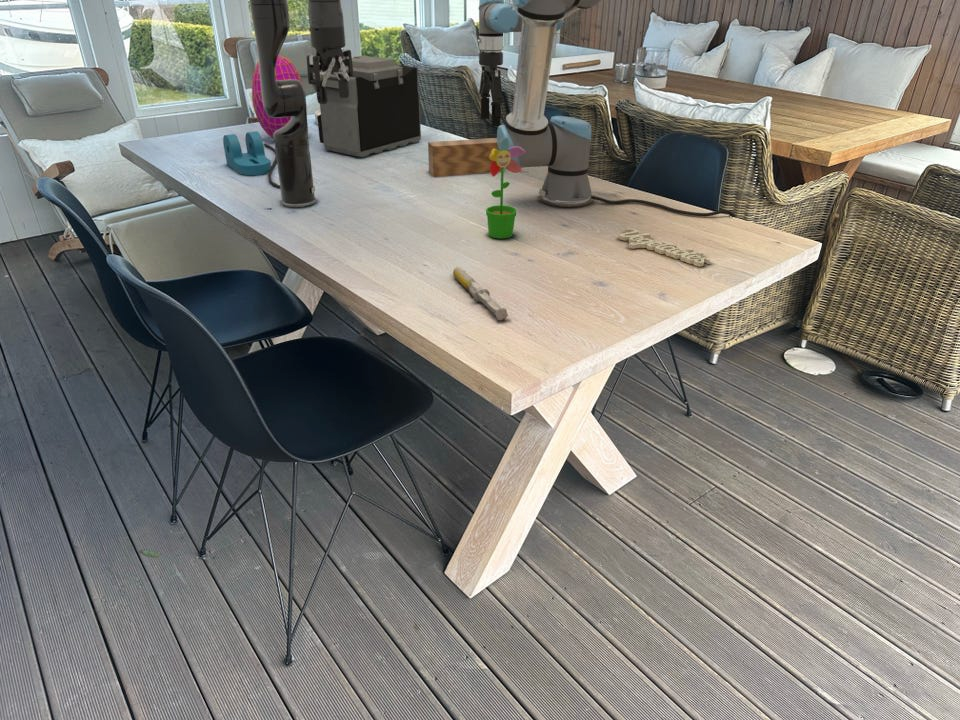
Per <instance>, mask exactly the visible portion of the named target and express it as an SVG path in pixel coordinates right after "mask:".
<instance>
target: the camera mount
mask: <svg viewBox="0 0 960 720" xmlns="http://www.w3.org/2000/svg"><path fill="white" fill-rule="evenodd" d="M222 140H223V141H222V143H223V149H224V150H223V151H224V156H225V161H226V165H227V166H228V167H230V168H231V169H232V170H234V171H236V172H237V173H238V174H239V175H244V176H260V175H265V174H268V173H269V170H270V169H271V166H272V164H271V159H270V158H268V157H267V156H266V153H265V145H264V141H263V139H262V136H261V134H260V132H258V131H247V132H246V133H245V146H246V152H243V151H242V150H243V149H242V146H241V142H240V140H239V138H238V135H236V134H235V133H231V134H224V135H223V138H222Z"/></svg>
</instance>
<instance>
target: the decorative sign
mask: <svg viewBox="0 0 960 720" xmlns="http://www.w3.org/2000/svg"><path fill="white" fill-rule="evenodd" d="M618 239H619V240H620V241H624V242H625V241H628V243H629V244H628V249H632V250H633V249H646V250H649V251H654V253H657V254H660V255H664V256H667V257H671V258H673V259H675V260H680V261H681V262H683V263H684V262H685V263H687V264H690V265H693V266H695V267H703V266H704V265H705V264H706V265H710V264H711V263H710V262H711V259H710V258H709V257H704V254H705V253H704V252H703V251H694V248H691V247H690V248H689V247H688V248H679V247H678V245H676V244H674V243H673V242H667V241H662V242H661V241H656V240H653V239H651V233H647V232H646V233H639V230H638V229H635V228H627V227H626V228H625V231H624V232H623V233H620V234H619V237H618Z"/></svg>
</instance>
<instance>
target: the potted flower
mask: <svg viewBox="0 0 960 720" xmlns="http://www.w3.org/2000/svg"><path fill="white" fill-rule="evenodd" d="M508 148H509V140H508V138H507V137H505V138H504V139H502V140H501V141H500V142H499V144H498V150H497V149H493V150H492V151H491V154H490V157H489V159H490V160H492V161H494V162H492V164H491V165H490V175H491V176H492V177H493V178H494V177H496V176H497V175H498V173H500V189H495V190H493V191H492V192H491V193H490V194H491V195H492V197H494V198H500V199H499V200H500V201H499V204H498V205H491V206H488V207H487V208H486V209H485V215H486V218H487V219H486V220H487V229H488V236H489V237H491V238H494V239H509V238H511V237H512V236H513V234H514V227H515V221H516V217H517V213H518V210H517V208H516V207H513V206H510V205H504V189H507V188H508V187H509V186H510V184H511V182H509V181H506V182H504V179H505V178H504V176H505V174H504V173H505V172H504V171H505V169H506V170H507V171H508V172H510V173H514V174H517V173H522V172H523V168H521V167H520V166H519V164H518V163H517V162H516V161H514V160H513V159H511V158H516V157H518V156H520V155H522V154H523V153H525V152H526V151H525V150H524V149H522V148H521V147H518V146H514V147H511V148H509V149H508ZM500 168H501V172H499V170H500Z"/></svg>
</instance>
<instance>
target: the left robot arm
mask: <svg viewBox="0 0 960 720" xmlns="http://www.w3.org/2000/svg"><path fill="white" fill-rule="evenodd" d="M248 1H249V9H250V15H251V21H252V26H253V32H254V38H255V45H256V50H257V51H256V52H257V61H259V72H260V84H261V95H262V102H263V106H264V110H265V112H266V114H267V115H268V116H269V117H270V118H281V117H291V119H290V121H289V122H288V123H287V124H286V125H285V126H283V127H282V128H280V129H278V130H276V131H275V132H274V135H273V137H274V139H273V143H274V147H273V146H271V145H269V144H268V143H263V145H264V147H266V148H268V149H270V150H272V151H273V152H274V154H275V158H274V161H273V162H272V164H271V169H270V170H269V173H267V179H268V182H269V184H270V185H272V186H273V187H275V188H277V189H280V195H281V204H282V206H284V207H286V208H287V207H288V208H305V207H309V206H312V205H314V204H316V203H317V202H316V201H317V200H316V195H315V194H316V193H315V192H316V187H315V186H316V185H314V177H313V168H312V160H311V159H312V158H311V152H310V142H309V141H310V140H309V125H308V111H307V110H308V109H307V97H306V91H305V88H303V87H304V85H303V86H302V84H303V83H302V84H301V82H300V81H299V80H296V79H291V80H277V81H275V68H276V61H277V58H278V55H280V52H281V50H282V48H283V46H284V43H285V41H286V39H287V36H288V35H289V31H290V27H291V20H290V12H289V4H288V0H248ZM341 1H342V0H307V2H308V3H307V4H308V5H307V6H308V7H307V10H308V23H309V32H310V33H309V34H310V42H311V47H312V48H313V49H315V55H314V54H313V55H312V54H310V55H309V54H308V55H307V56H306V69H307V80H308V81H307V82H308V84H309V85H311V86H312V85H314V86H315V87H316V91H315V94H316V100H317V103H318V104H319V105H320V104H327V91H326V87H325V85H326V81H327V79H328V78H329V77H330V74H333V73H334V74H336V76H337V78H338V79H339V80H340V81H338V84H339V95H340V97H341V98H348V97H349V88H348V81H349V78H350V77H353V75H354V74H353V65H352V58H353V57H352V51H351V50H350V49H344V48H345V47H346V33H345V23H344V12H343V7H342V2H341ZM346 66H348V70H349V71H347V69H346ZM313 73H315V79H313ZM321 77H322V80H320V78H321ZM276 165H277V173H278V181H279V184H278V183H275V182H274V181H273V180H272V176H271V175H272V173H273V170H274V168H275V166H276Z"/></svg>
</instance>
